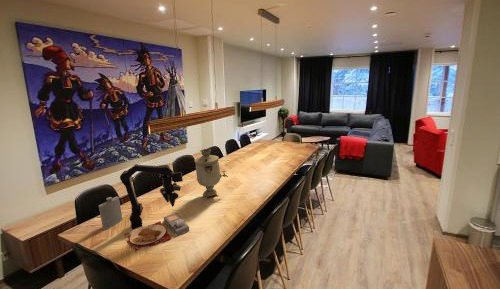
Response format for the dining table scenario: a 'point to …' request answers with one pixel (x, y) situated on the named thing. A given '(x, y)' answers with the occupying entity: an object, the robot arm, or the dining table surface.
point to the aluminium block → (178, 223)
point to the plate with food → (149, 235)
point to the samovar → (208, 172)
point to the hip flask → (110, 212)
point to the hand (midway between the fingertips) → (170, 204)
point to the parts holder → (171, 224)
